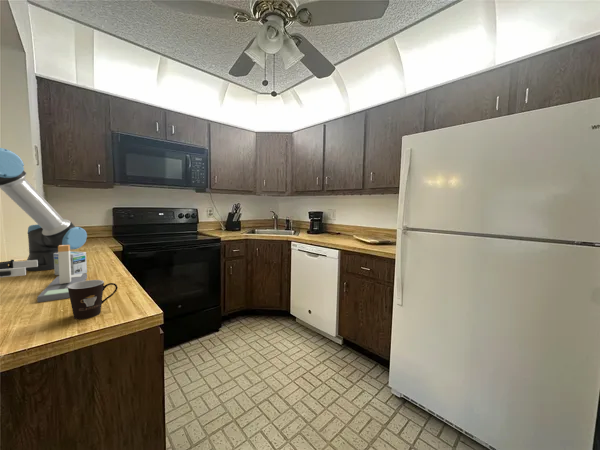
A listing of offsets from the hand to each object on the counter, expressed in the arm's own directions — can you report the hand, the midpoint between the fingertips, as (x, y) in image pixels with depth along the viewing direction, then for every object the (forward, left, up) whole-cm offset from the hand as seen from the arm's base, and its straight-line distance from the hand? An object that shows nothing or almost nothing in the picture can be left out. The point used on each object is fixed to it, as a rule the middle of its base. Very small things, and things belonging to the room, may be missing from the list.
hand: (31, 267), depth 93 cm
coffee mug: (+9, +39, -10) cm, 42 cm away
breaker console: (-7, +6, -10) cm, 14 cm away
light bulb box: (-23, -13, -10) cm, 28 cm away
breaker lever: (-7, +6, -7) cm, 12 cm away
